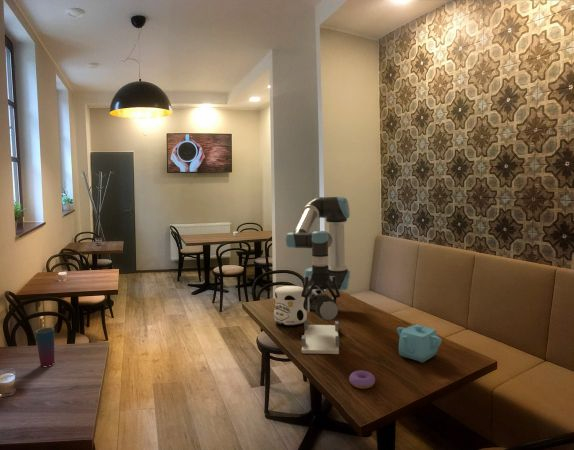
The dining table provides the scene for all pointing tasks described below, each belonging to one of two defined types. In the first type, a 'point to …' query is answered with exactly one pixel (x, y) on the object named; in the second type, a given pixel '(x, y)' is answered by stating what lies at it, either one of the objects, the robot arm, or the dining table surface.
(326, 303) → the muzzle brake
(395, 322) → the dining table surface
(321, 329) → the mounting board
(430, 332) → the teapot
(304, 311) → the milk container
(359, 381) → the donut
